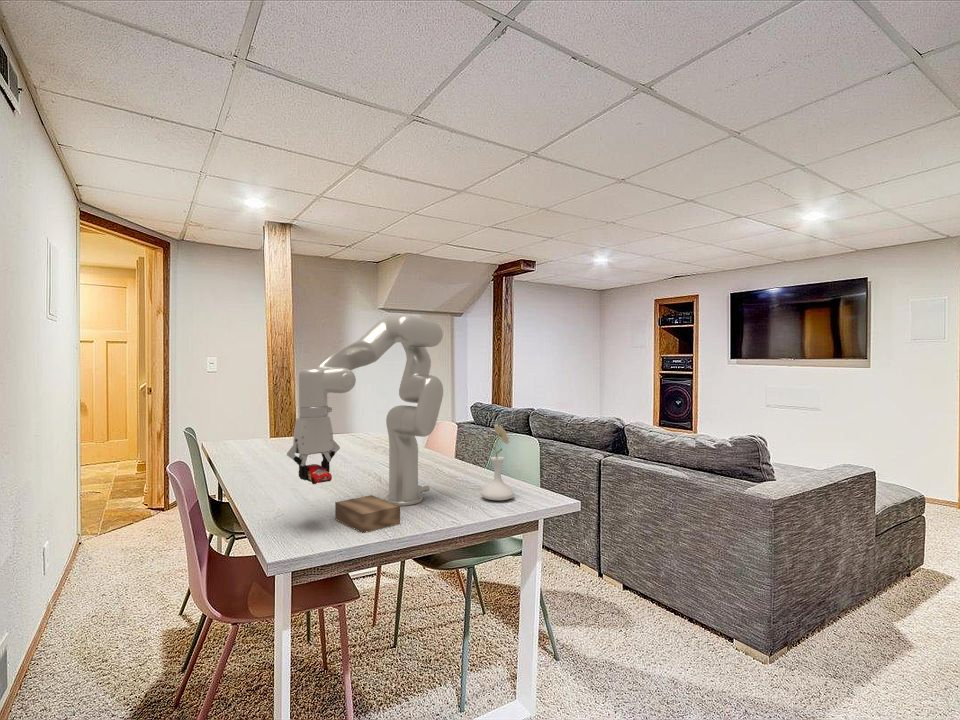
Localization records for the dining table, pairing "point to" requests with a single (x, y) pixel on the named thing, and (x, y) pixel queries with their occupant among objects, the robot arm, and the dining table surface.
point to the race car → (317, 474)
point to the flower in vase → (498, 474)
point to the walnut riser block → (367, 513)
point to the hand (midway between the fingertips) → (314, 476)
